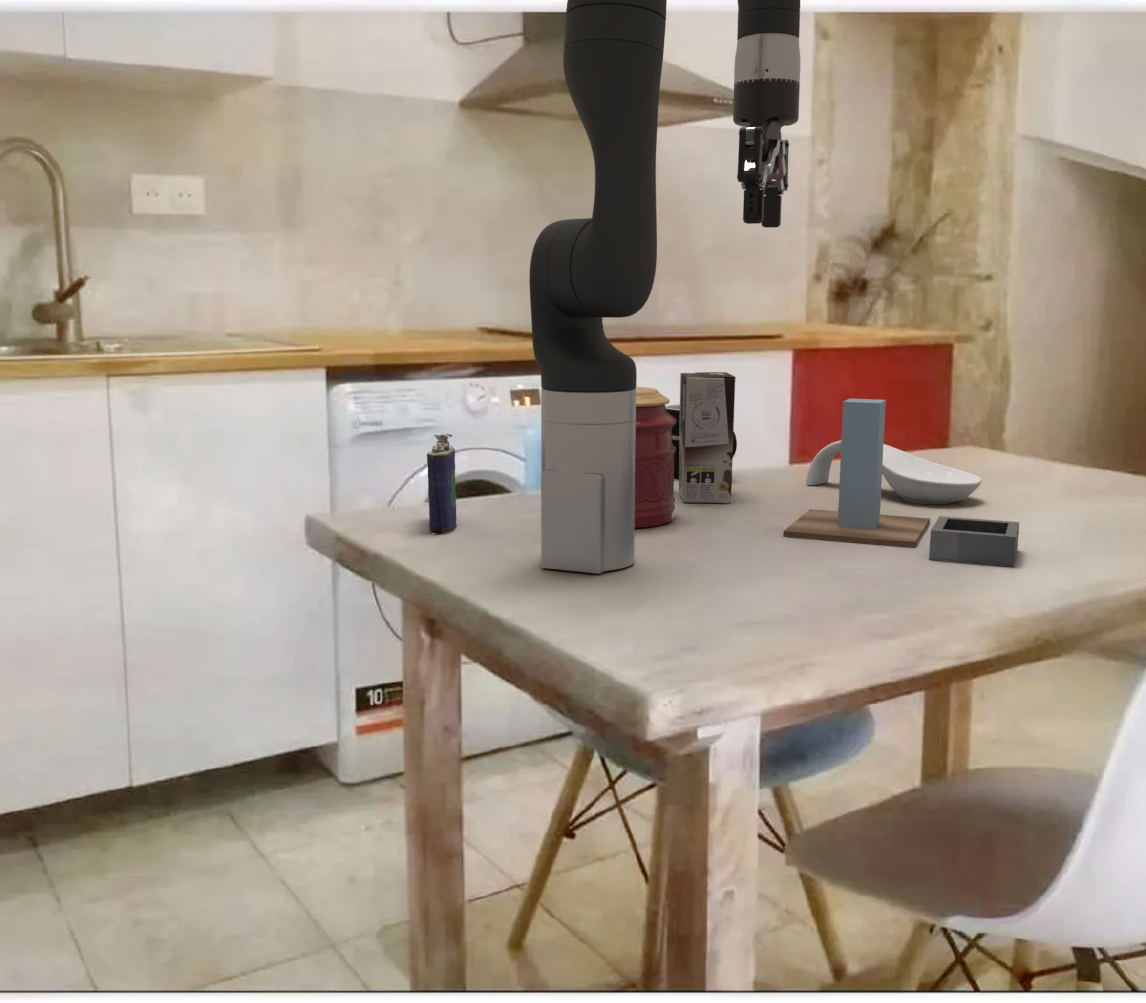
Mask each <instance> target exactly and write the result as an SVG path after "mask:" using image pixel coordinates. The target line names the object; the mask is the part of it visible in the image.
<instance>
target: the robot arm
mask: <svg viewBox="0 0 1146 1003" xmlns="http://www.w3.org/2000/svg"><path fill="white" fill-rule="evenodd" d="M667 2H668V1H667V0H567V2H566V10H565V25H564V40H563V41H564V42H563V43H564V44H563V55H562V56H563V58H562V60H563V62H562V64H563V67H562V68H563V74H564V78H565V82H566V86H567V90H568V92H569V94H570V98H571V101H572V102H573V106H574V109H575V110H576V112H577V114H578V117H579V119H580V121H581V123H582V126H583V128H584V130H585V132H586V135H587V137H588V140H589V141H588V142H589V144H590V147H591V151H592V155H593V157H592V158H593V162H594V163H593V164H594V195H593V196H594V197H593V198H594V199H593V208H592V216H591V217H589V218H588V217H587V218H570V219H569V218H568V219H561V220H557V221H553V222H551V223H550V224H548V225H547V226H545V227H544V228H543V229H542V231H541V232H540V233H539V235H538V236H537V238H536V240H535V242H534V245H533V247H532V253H531V257H530V263H529V280H528V281H529V282H528V283H529V302H530V319H531V323H530V324H531V336H532V337H531V340H532V352H533V355H534V359H535V362H536V365H537V366H538V370H539V372H540V387H541V388H540V389H541V391H540V393H541V394H540V396H541V397H540V399H541V400H540V402H541V404H540V411H541V412H540V413H541V414H540V416H541V419H540V429H541V430H540V433H541V434H540V446H541V447H540V451H541V452H540V455H541V456H540V459H541V460H540V461H541V462H540V467H541V470H540V471H541V472H540V474H541V476H540V497H541V498H540V535H541V536H540V541H541V542H540V543H541V544H540V546H541V547H540V549H541V551H540V553H541V554H540V557H541V558H540V560H541V561H540V563H541V564H540V566H541V568H542V569H549V570H551V569H552V570H561V571H569V572H580V573H582V572H583V573H588V574H589V573H591V574H601V573H603V572H608V571H614V570H615V571H616V570H619V569H624V568H627V567H630V566H632V565H633V564H634V562H635V541H636V540H635V536H636V535H635V531H636V528H635V446H636V387H637V377H638V376H637V365H636V362H635V361H634V359H633V358H632V357H630V356H629V355H627V354H626V353H623V352H622V351H621V350H619V349H618V348H616V347H615V346H614V345H613V344H612V343H611V341H610V340H609V339H608V338H607V335H606V334H605V331H604V330H605V329H604V324H603V318H614V319H616V318H626V317H627V318H628V317H631V316H633V315H635V314H637V313H638V312H640V310H641V309H643V308H644V306H645V305H646V303H647V302H648V300H649V298H650V295H651V293H652V290H653V287H654V283H655V279H656V278H655V277H656V272H657V262H658V261H657V260H658V228H657V226H658V225H657V224H658V222H657V221H658V220H657V214H658V213H657V141H658V140H657V139H658V120H659V119H658V118H659V102H660V90H661V78H662V72H663V62H664V52H665V51H664V50H665V38H666V37H665V36H666V24H667V23H666V21H667ZM737 7H738V10H737V12H738V13H737V35H736V36H737V42H736V50H735V55H734V66H733V67H734V70H733V74H734V75H733V76H734V78H733V102H732V104H733V108H732V111H733V112H732V121H733V123H734V125H737V126H739V131H738V158H737V176H736V178H737V182H738V183H740V186H741V188H742V190H743V206H742V207H743V208H742V210H743V211H742V217H743V218H742V221H743V223H744V224H749V225H753V224H756V225H757V224H761V226H762V227H763V228H769V229H770V228H773V229H774V228H779V227H781V225H782V224H781V223H782V201H783V200H782V196H783V195H784V193H785V192H787V191H788V188H789V184H788V183H789V147H790V143H789V139H782V132H781V130H782V128H783V127H786V126H787V127H788V126H792V125H795V124H796V123H797V122H798V121H799V115H800V114H799V112H800V87H801V64H802V63H801V49H800V31H801V30H800V28H801V27H800V25H801V23H800V22H801V0H737Z"/></svg>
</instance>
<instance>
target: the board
mask: <svg viewBox="0 0 1146 1003" xmlns="http://www.w3.org/2000/svg"><path fill="white" fill-rule="evenodd" d="M930 523H931V518H930V517H917V516H904V515H891V514H880V522H879V524H878V525H877V526H876V528H875V529H863V528H851V527H838V510H826V509H824V510H823V509H813V508H810V509H808V510H807V511H806V512H804V513H803V514H802V515H801V516H800V517H798V518H797V519H796V520H794V522H792V523H791V524H790V525H789V526H788V527H786V528H785V529H784V530H783V534H782V535H783V537H785V538H800V539H809V540H810V539H811V540H822V541H834V542H842V543H843V542H844V543H858V544H865V545H866V544H869V545H878V546H879V545H881V546H890V547H891V546H892V547H903V548H913V549H914V548H916V547H917V545H918V543H919V541H920V540H921V538H922V537H923V535H924V533H925V532H926V530H927V528H928V527H929V526H930Z"/></svg>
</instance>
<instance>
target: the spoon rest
mask: <svg viewBox="0 0 1146 1003" xmlns="http://www.w3.org/2000/svg"><path fill="white" fill-rule="evenodd" d="M838 453H841V440H838V441H833V442H831V443H830V444H827V445H826V446H824V447H823V448H822V449H821V450H819V452H817V454H816V455H815V456H814V457H813V459H812V461H811V462H810V465H809V468H808V470H807V474H806V480H805V484H806V485H807V486H818V485H823V484H827V483H828V482H829V479H830V478H829V477H830V472H831V466H832V463H833V460H834V458H835V457H836V456H837V455H838ZM882 476H883V478H884V479H885V481H886V482H887V484H888V485H889V486H890V488H891V489H892V490H894V492H895V493H897V494H898V495H899V496H900V497H901V498H902V500H904V501H906V502H911V503H916V504H924V505H925V504H926V505H946V504H947V505H948V504H952V503H956V502H959V501H962V500H964V499H965V498H968V497H969V496H970V495H972V494H973V493H974V492H976V490H977V489H978V488H979V487H980V485H981V484H982V480H983V479H982V478H981V477H980V476H978V475H976V474H973V473H971V472H968V471H964V470H961V469H957V468H955V467H951V466H947V465H943V464H941V463H936V462H933V461H930V460H926V459H925V458H922V457H919V456H916V455H914V454H912V453H909V452H906V451H903V450H902V449H899V448H896V447H894V446H891V445H888V444H885V443H884V444H883V463H882Z"/></svg>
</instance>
